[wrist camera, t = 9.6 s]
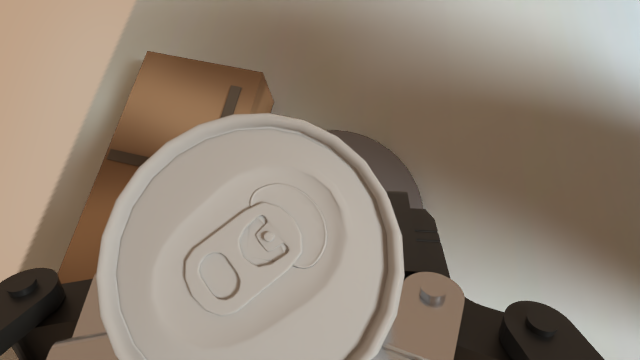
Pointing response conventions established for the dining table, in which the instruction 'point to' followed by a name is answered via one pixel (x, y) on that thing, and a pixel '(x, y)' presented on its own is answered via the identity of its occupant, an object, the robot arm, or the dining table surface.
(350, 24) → the dining table surface
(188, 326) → the beverage can
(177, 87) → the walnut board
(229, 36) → the dining table surface
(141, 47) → the dining table surface
